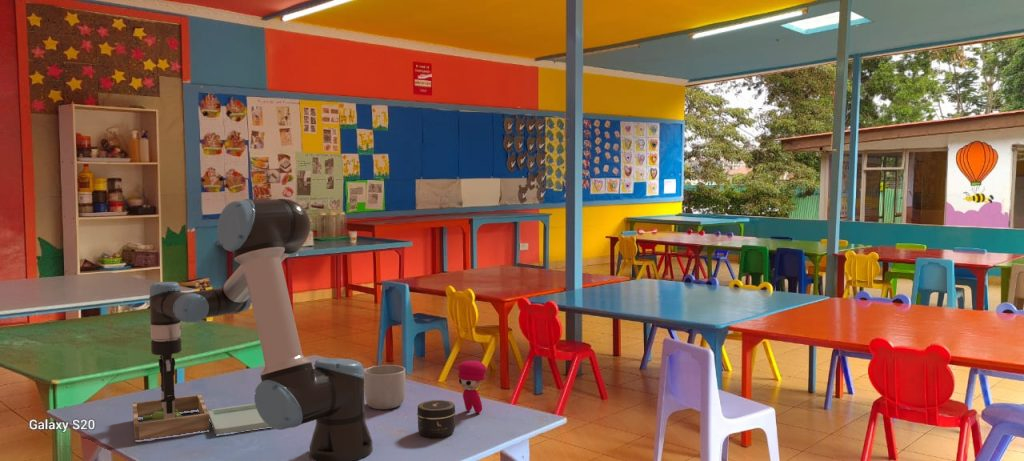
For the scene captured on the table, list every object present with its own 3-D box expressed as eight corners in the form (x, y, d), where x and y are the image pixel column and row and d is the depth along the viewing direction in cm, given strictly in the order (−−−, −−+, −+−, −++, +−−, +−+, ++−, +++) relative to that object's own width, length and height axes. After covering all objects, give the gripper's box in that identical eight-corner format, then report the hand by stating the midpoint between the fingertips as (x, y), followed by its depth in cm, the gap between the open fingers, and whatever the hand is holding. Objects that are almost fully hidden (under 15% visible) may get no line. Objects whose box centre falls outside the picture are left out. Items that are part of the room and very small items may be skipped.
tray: (293, 425, 209) (293, 417, 209) (215, 436, 200) (215, 429, 200) (279, 406, 227) (279, 400, 227) (207, 416, 217) (207, 409, 217)
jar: (421, 441, 195) (420, 412, 194) (414, 429, 204) (414, 401, 204) (459, 437, 197) (458, 408, 197) (451, 425, 207) (450, 398, 206)
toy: (452, 414, 217) (451, 362, 216) (467, 406, 224) (466, 356, 223) (478, 418, 213) (477, 365, 212) (492, 410, 220) (491, 359, 219)
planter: (357, 410, 222) (356, 373, 221) (374, 398, 234) (373, 364, 233) (396, 413, 219) (395, 375, 218) (412, 401, 231) (411, 365, 230)
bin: (209, 432, 204) (209, 413, 203) (135, 443, 195) (134, 424, 195) (201, 411, 223) (200, 394, 223) (133, 420, 215) (132, 403, 215)
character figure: (144, 400, 209) (191, 396, 213) (146, 415, 212) (192, 411, 215) (137, 429, 199) (186, 425, 203) (139, 444, 202) (188, 439, 205)
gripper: (184, 344, 200) (186, 428, 201) (178, 330, 219) (180, 407, 220) (152, 347, 196) (155, 432, 198) (149, 333, 215) (151, 411, 217)
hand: (168, 419), depth 209 cm, fingers open, 9 cm apart
